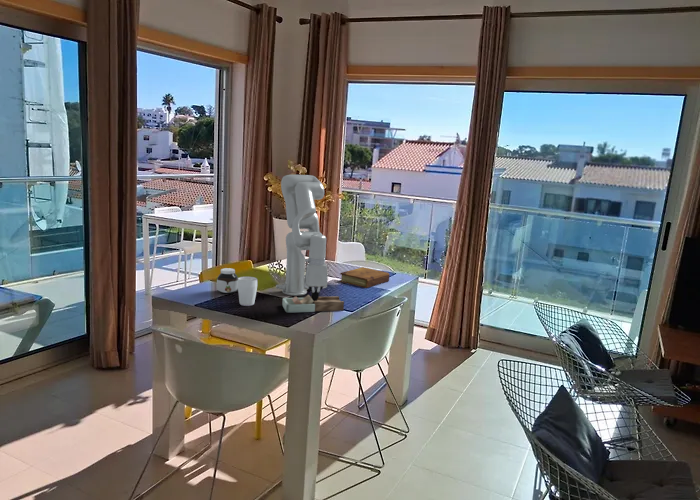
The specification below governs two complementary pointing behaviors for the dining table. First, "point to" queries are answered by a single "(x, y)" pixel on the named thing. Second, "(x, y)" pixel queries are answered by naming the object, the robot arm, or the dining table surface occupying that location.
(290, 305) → the box
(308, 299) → the maple tile
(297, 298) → the terracotta tile
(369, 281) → the diary
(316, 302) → the bench plate
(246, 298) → the cup
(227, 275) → the spread jar
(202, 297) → the dining table surface
